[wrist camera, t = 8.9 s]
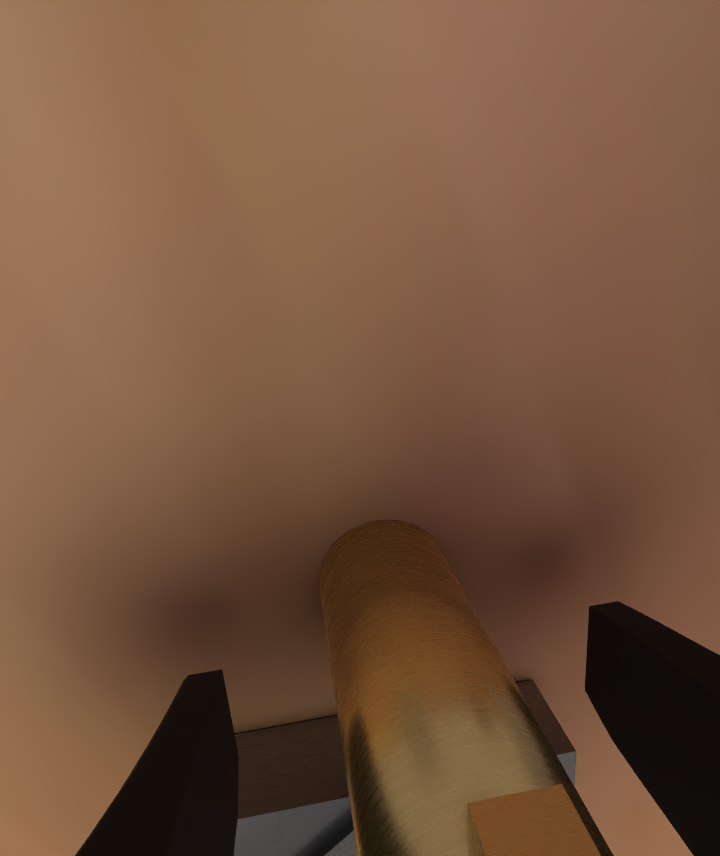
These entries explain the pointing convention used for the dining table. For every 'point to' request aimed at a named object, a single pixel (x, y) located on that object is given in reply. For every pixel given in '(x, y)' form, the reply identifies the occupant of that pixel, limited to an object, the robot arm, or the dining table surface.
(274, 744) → the block
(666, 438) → the dining table surface
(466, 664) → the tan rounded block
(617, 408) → the dining table surface
